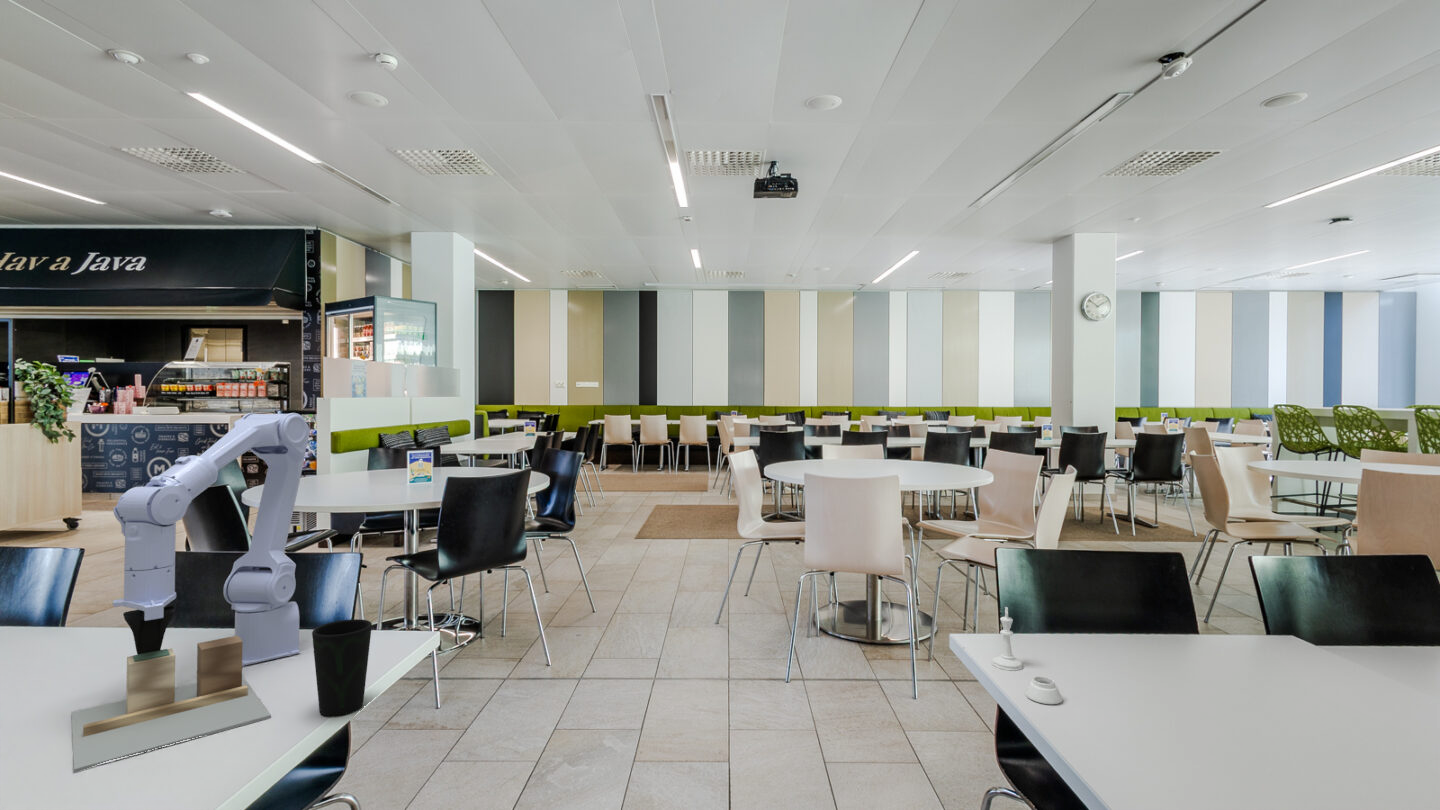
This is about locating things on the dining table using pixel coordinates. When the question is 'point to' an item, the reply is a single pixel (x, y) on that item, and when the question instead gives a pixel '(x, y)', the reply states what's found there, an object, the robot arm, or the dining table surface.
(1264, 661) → the dining table surface
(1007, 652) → the chess piece
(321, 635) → the cup
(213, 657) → the walnut block
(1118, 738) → the dining table surface
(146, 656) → the beech block
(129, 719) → the oak rail
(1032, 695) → the white jar
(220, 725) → the grey mat
